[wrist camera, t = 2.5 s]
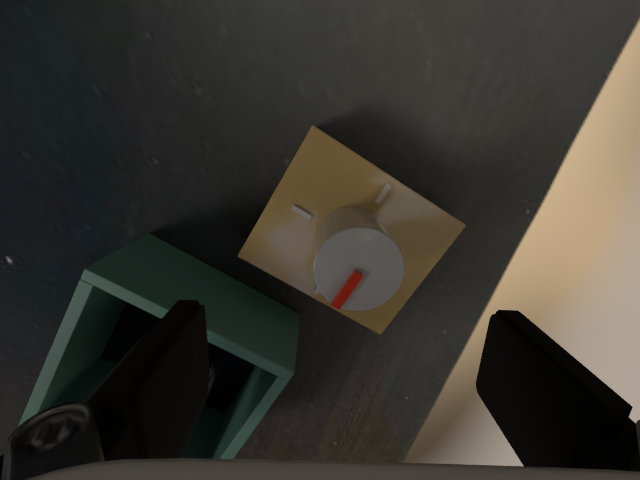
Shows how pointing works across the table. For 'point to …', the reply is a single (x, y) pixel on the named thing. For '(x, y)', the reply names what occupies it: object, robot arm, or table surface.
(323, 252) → the tap knob
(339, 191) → the tap panel
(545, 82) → the table surface
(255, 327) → the basin
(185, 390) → the robot arm
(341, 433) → the table surface
